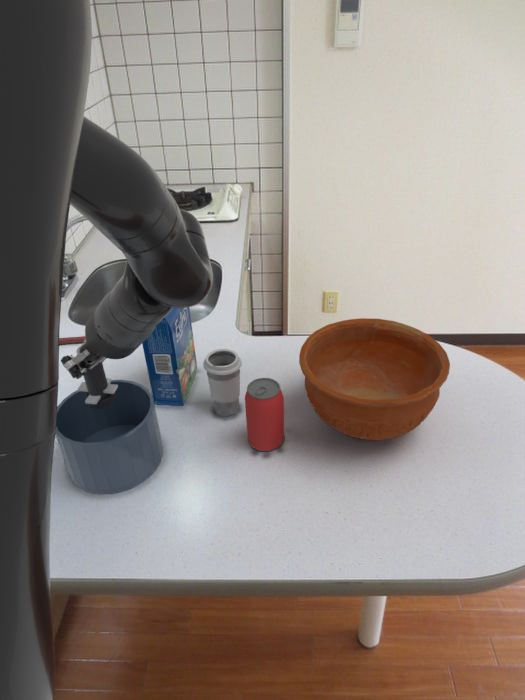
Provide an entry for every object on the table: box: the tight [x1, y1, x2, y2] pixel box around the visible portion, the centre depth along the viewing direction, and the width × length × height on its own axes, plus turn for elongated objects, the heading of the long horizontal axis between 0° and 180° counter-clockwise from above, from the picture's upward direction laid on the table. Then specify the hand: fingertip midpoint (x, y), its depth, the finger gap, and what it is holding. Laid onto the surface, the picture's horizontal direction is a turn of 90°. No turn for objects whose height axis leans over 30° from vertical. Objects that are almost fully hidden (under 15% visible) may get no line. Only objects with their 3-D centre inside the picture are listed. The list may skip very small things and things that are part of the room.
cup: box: [202, 348, 243, 417], centre depth 98 cm, size 7×7×12 cm
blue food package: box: [141, 307, 198, 406], centre depth 101 cm, size 6×12×25 cm, turn 173°
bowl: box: [298, 317, 451, 441], centre depth 93 cm, size 25×25×15 cm
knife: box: [59, 335, 86, 345], centre depth 124 cm, size 29×2×5 cm
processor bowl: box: [55, 379, 164, 495], centre depth 89 cm, size 16×16×11 cm
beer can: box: [244, 377, 285, 452], centre depth 91 cm, size 7×7×12 cm
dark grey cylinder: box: [76, 348, 118, 409], centre depth 82 cm, size 6×6×10 cm
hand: (84, 366), depth 82 cm, fingers closed on dark grey cylinder, 3 cm apart
